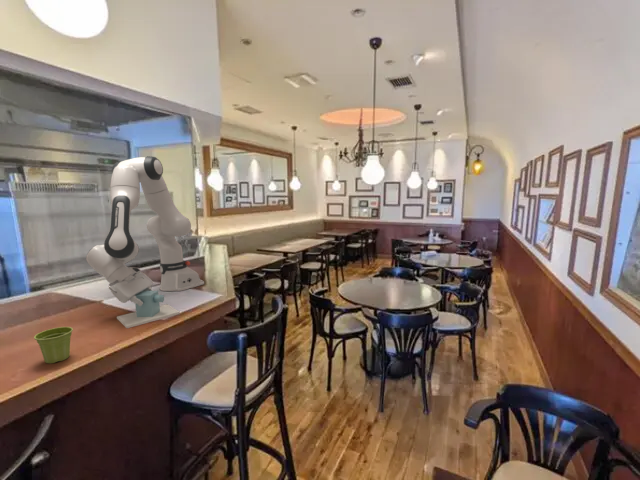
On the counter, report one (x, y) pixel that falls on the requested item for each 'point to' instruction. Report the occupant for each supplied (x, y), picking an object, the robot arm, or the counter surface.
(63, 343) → the plant pot
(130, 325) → the board
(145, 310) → the light blue pegged cube
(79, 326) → the counter surface
